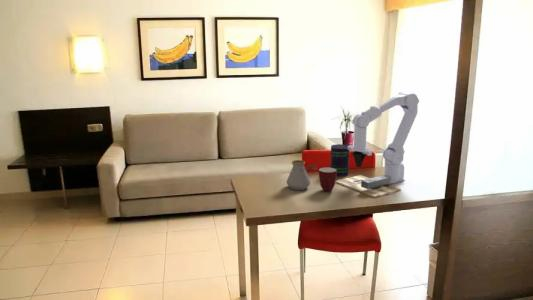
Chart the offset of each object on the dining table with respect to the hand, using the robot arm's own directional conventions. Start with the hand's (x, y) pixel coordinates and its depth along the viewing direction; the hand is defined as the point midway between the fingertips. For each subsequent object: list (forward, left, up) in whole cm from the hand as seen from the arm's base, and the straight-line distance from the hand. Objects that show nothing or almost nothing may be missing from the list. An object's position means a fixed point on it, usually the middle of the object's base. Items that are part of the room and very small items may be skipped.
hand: (358, 166), depth 191 cm
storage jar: (-3, -17, -9) cm, 19 cm away
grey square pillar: (0, +12, -7) cm, 14 cm away
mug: (+20, +1, -9) cm, 22 cm away
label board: (0, +6, -8) cm, 10 cm away
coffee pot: (+29, -6, -9) cm, 31 cm away
